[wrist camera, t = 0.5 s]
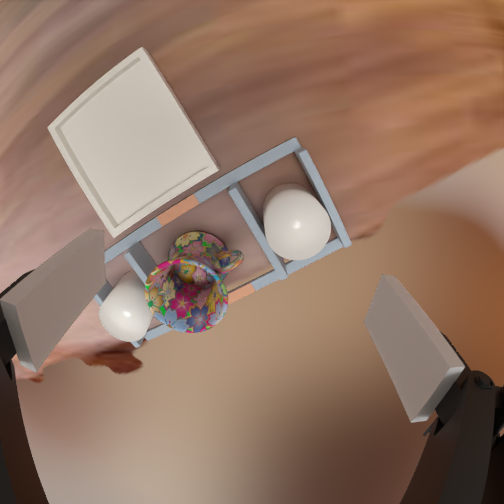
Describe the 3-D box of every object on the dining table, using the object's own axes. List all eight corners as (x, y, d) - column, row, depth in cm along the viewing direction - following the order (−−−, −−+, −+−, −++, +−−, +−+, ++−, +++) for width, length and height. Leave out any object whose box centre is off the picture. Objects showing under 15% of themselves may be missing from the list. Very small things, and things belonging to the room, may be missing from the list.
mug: (193, 297, 44) (179, 344, 34) (154, 248, 41) (127, 286, 31) (263, 258, 41) (266, 300, 32) (224, 202, 38) (215, 229, 29)
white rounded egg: (111, 282, 43) (89, 310, 36) (143, 262, 42) (123, 290, 34) (138, 315, 46) (121, 347, 38) (170, 299, 44) (157, 331, 37)
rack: (88, 263, 42) (76, 275, 38) (295, 136, 35) (299, 137, 31) (148, 338, 47) (141, 354, 44) (347, 242, 41) (356, 254, 37)
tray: (55, 126, 33) (47, 127, 32) (147, 50, 30) (141, 46, 28) (119, 233, 40) (113, 238, 38) (220, 168, 37) (218, 170, 35)
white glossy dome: (252, 199, 38) (252, 217, 31) (301, 173, 37) (313, 185, 30) (278, 243, 41) (284, 270, 33) (324, 219, 39) (340, 241, 32)
